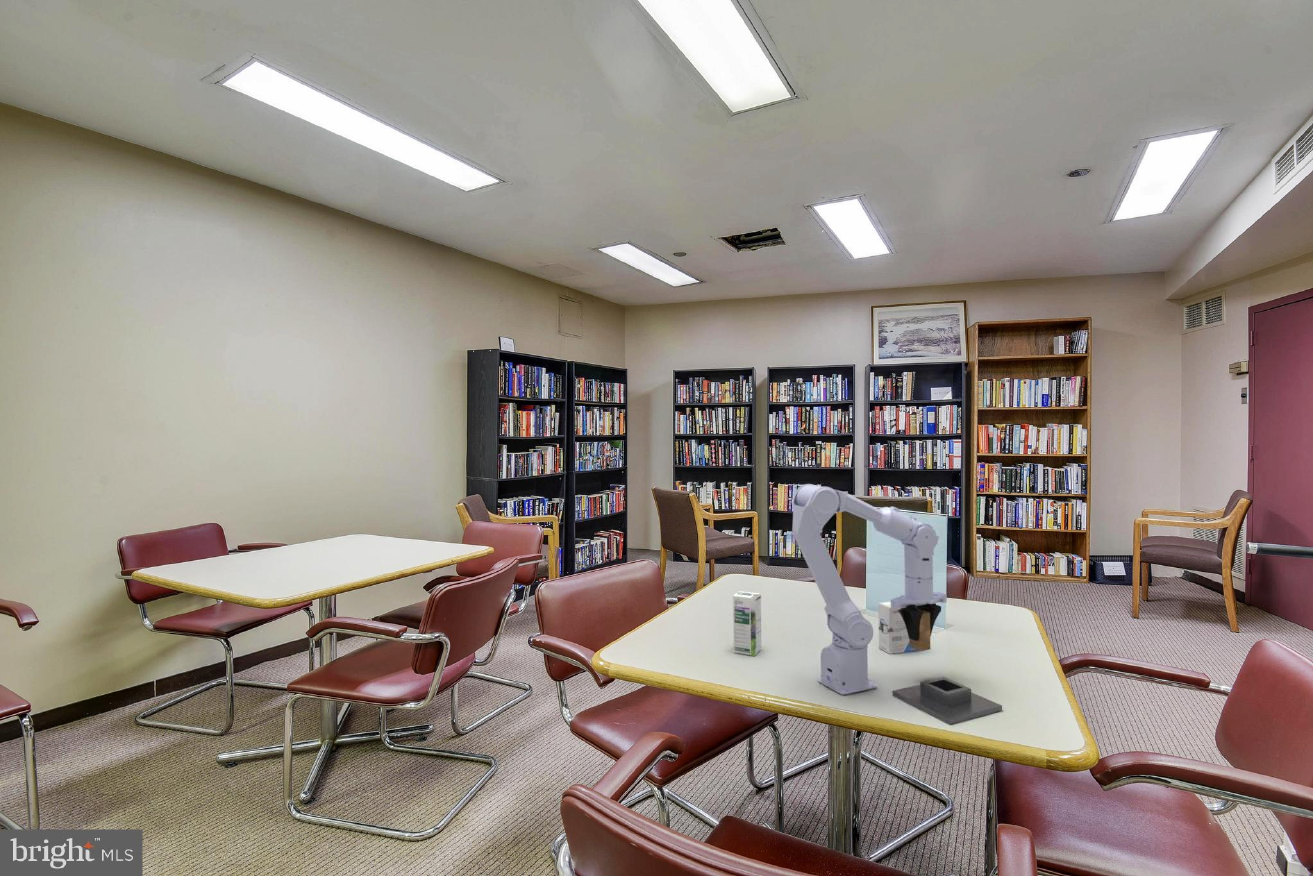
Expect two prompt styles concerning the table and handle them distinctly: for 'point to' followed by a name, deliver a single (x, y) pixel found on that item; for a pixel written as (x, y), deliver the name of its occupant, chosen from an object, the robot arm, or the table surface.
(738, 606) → the syrup box
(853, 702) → the table surface
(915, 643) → the oak peg
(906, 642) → the ink box
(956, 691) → the socket plate
